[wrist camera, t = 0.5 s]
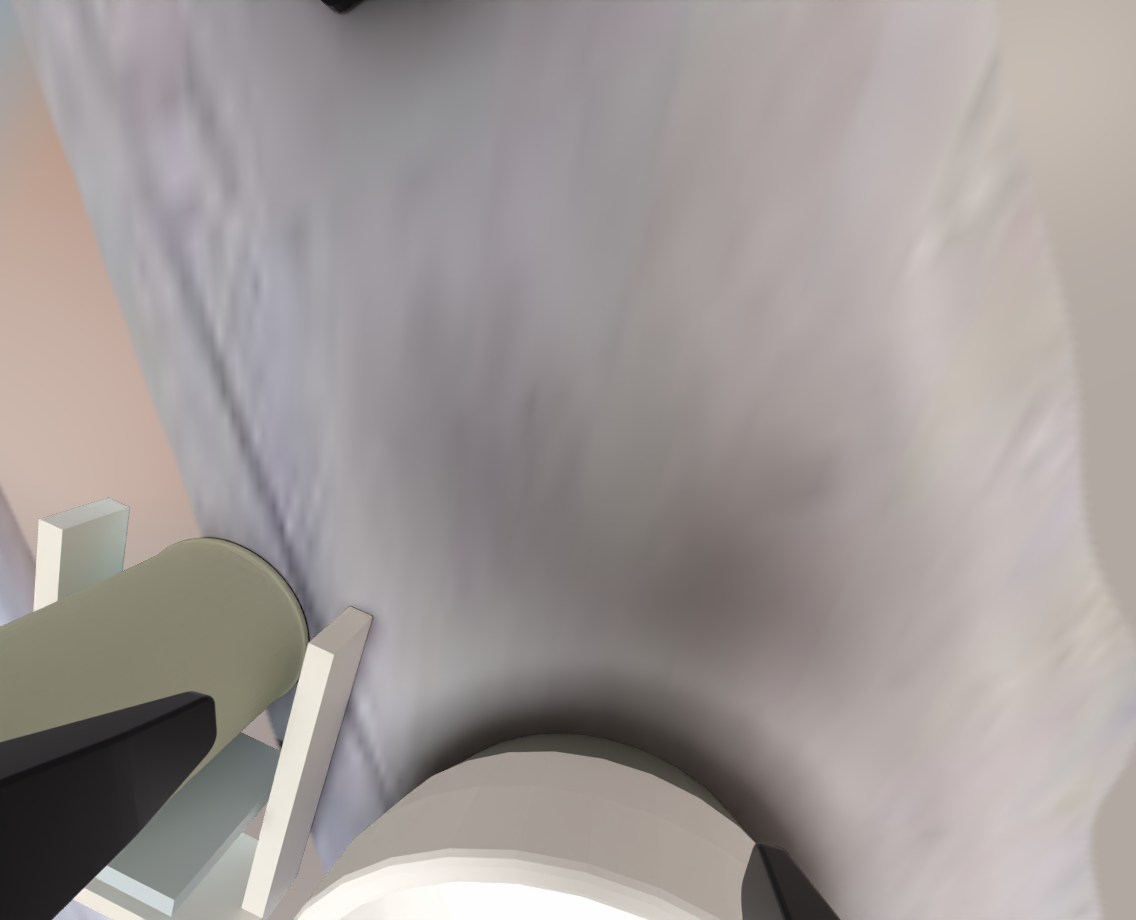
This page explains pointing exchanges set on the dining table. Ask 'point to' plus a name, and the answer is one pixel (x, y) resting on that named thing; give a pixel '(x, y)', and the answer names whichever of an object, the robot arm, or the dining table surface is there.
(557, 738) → the bowl
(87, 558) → the white angular bar frame
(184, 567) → the can
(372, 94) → the dining table surface
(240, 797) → the bar
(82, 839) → the robot arm
